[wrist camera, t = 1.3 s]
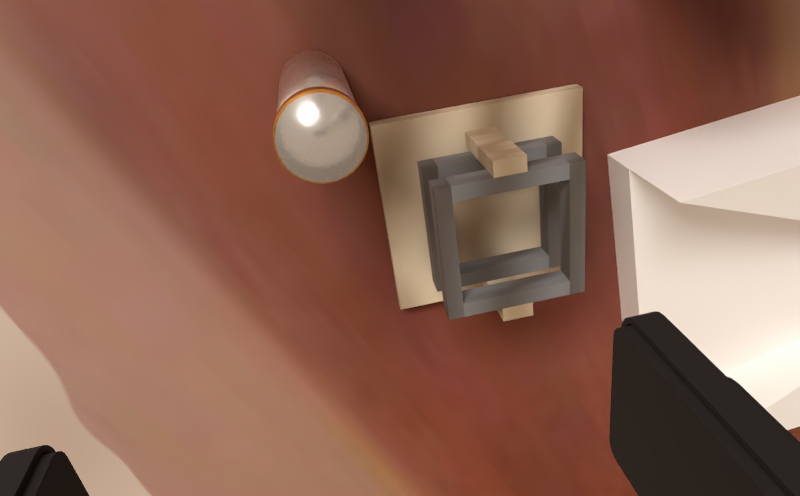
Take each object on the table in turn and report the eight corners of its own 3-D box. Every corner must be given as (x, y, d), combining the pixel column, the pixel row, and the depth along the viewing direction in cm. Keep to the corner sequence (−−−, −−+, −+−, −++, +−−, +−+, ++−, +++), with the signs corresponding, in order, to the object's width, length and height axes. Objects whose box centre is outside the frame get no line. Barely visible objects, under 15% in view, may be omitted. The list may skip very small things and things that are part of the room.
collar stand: (576, 83, 39) (629, 109, 33) (575, 265, 46) (620, 314, 40) (368, 122, 38) (383, 156, 32) (398, 302, 45) (415, 359, 39)
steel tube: (340, 42, 36) (360, 82, 25) (352, 110, 38) (376, 175, 27) (270, 54, 35) (261, 100, 25) (286, 122, 37) (284, 192, 27)
